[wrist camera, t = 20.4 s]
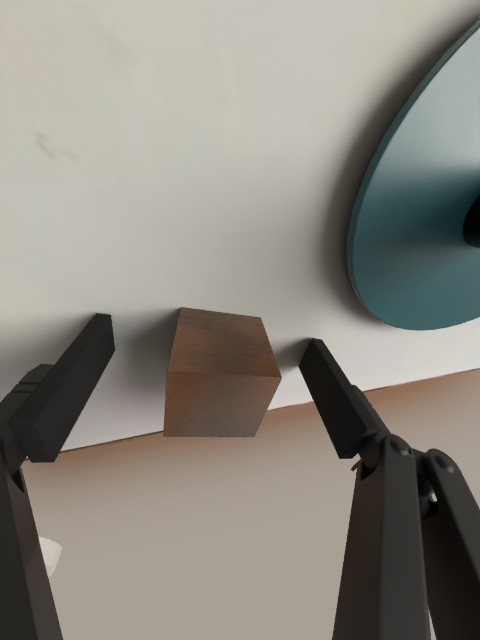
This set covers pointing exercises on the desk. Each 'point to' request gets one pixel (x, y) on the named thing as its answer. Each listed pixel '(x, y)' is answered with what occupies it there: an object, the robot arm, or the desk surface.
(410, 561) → the robot arm
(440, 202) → the lid
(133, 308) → the desk surface
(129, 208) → the desk surface
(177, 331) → the block
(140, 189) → the desk surface
